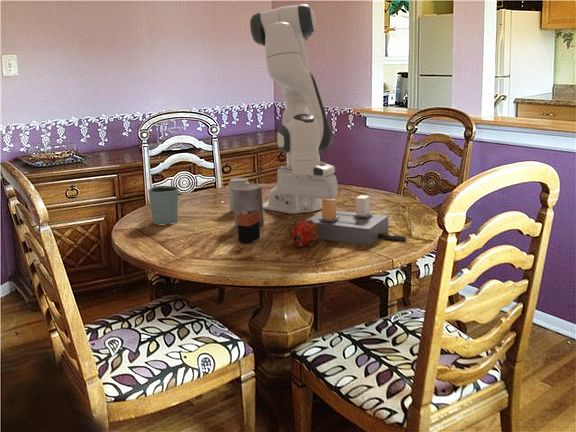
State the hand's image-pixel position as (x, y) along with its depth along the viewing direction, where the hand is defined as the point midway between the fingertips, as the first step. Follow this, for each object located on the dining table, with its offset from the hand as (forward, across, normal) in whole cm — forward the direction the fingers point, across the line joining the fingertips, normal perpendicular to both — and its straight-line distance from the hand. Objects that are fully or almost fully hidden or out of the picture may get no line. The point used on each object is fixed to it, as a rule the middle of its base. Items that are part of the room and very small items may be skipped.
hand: (307, 210), depth 204 cm
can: (+8, -36, +16) cm, 41 cm away
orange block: (+2, +8, 0) cm, 8 cm away
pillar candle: (+8, -22, 0) cm, 24 cm away
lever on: (+2, +16, +8) cm, 18 cm away
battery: (+8, -13, -14) cm, 21 cm away
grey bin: (+8, -52, -7) cm, 53 cm away
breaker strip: (+8, +16, +4) cm, 18 cm away
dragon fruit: (+8, +5, -12) cm, 15 cm away
